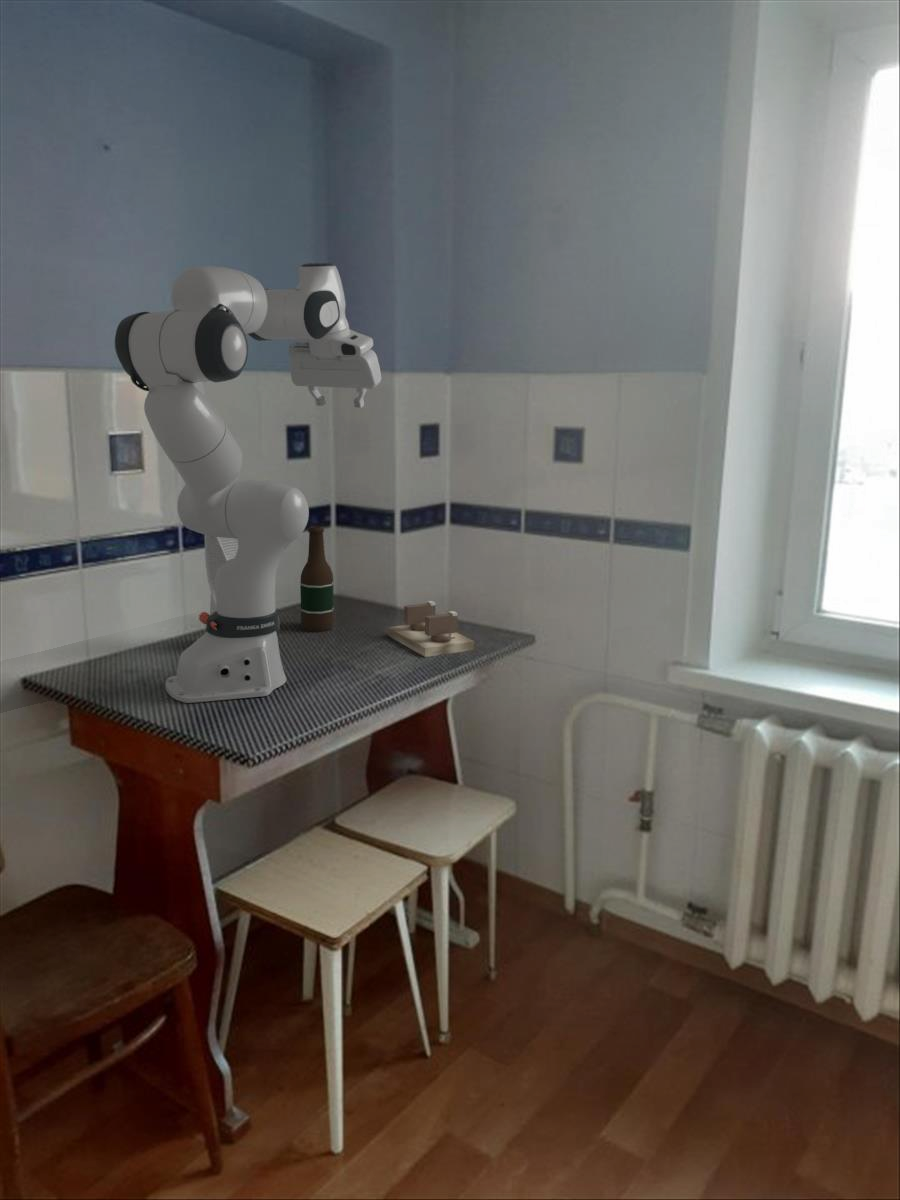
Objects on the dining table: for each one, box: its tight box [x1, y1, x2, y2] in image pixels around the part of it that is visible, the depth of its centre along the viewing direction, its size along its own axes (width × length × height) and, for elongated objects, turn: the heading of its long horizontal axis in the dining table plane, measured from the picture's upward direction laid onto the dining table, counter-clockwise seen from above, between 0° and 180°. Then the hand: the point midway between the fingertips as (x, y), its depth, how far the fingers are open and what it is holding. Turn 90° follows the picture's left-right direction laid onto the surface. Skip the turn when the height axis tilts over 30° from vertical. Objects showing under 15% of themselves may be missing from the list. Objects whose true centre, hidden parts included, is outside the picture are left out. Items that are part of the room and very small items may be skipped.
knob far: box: [403, 600, 437, 631], centre depth 210 cm, size 7×4×6 cm, turn 119°
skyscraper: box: [204, 535, 238, 616], centre depth 199 cm, size 8×8×28 cm
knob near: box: [425, 610, 458, 642], centre depth 202 cm, size 7×4×6 cm, turn 120°
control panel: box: [387, 624, 475, 658], centre depth 207 cm, size 12×18×4 cm
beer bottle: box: [299, 525, 335, 633], centre depth 214 cm, size 8×8×24 cm
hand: (340, 405), depth 201 cm, fingers open, 8 cm apart
